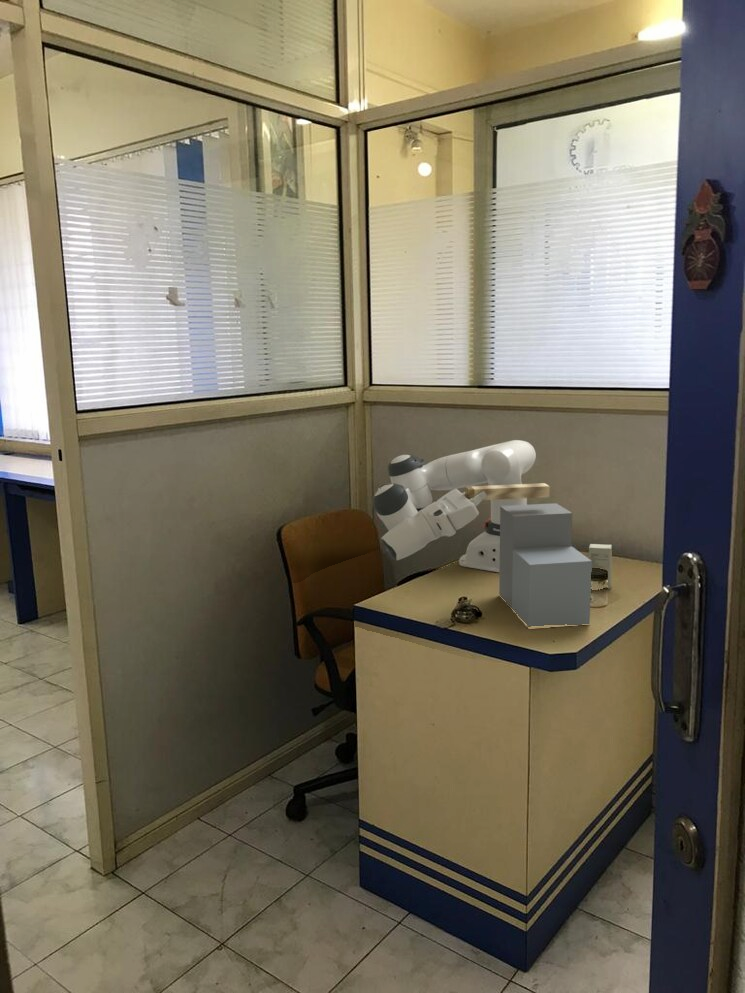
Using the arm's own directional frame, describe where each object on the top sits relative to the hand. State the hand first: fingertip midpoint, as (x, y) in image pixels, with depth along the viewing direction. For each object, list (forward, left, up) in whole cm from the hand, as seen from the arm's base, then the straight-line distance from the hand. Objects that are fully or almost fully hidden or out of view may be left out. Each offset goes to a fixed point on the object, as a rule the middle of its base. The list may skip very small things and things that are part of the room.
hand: (482, 491), depth 218 cm
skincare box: (+28, +27, -32) cm, 50 cm away
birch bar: (+6, +4, -2) cm, 7 cm away
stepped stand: (+16, +2, -32) cm, 36 cm away
